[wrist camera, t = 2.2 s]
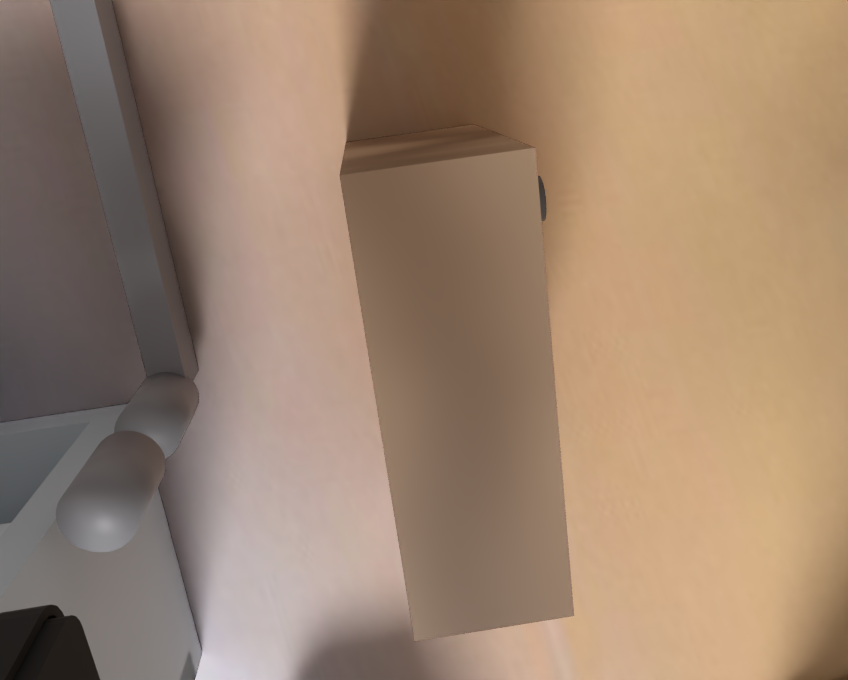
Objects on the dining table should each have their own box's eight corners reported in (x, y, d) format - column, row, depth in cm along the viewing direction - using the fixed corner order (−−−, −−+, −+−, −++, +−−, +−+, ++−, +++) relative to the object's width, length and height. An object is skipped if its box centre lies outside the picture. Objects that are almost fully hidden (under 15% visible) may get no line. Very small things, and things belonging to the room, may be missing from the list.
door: (500, 120, 22) (577, 141, 14) (531, 449, 25) (608, 610, 17) (346, 141, 22) (339, 175, 14) (397, 469, 25) (414, 641, 17)
